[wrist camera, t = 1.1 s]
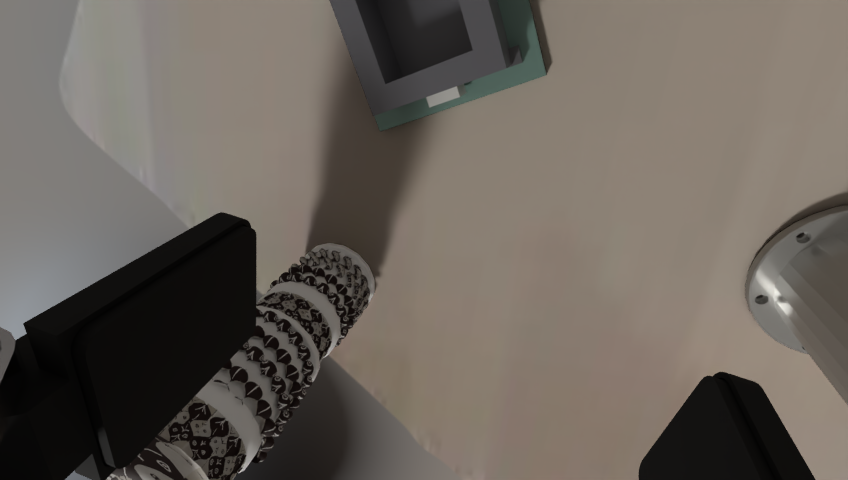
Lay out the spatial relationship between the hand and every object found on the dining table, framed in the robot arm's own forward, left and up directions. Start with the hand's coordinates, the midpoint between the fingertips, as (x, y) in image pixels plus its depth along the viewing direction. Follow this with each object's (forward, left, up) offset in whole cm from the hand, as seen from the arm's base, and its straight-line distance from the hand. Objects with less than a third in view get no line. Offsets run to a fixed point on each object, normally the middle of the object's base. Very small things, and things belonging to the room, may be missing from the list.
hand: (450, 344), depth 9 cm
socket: (+5, -9, -27) cm, 29 cm away
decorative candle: (+23, +10, -28) cm, 38 cm away
